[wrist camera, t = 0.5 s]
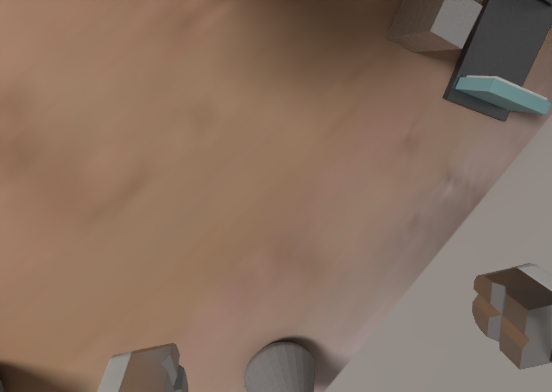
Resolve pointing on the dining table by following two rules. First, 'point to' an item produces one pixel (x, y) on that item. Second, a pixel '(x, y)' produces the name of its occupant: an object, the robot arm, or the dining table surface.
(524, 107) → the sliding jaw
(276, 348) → the coffee pot
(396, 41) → the steel block
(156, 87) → the dining table surface
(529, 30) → the vise
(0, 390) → the smart speaker
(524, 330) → the robot arm
